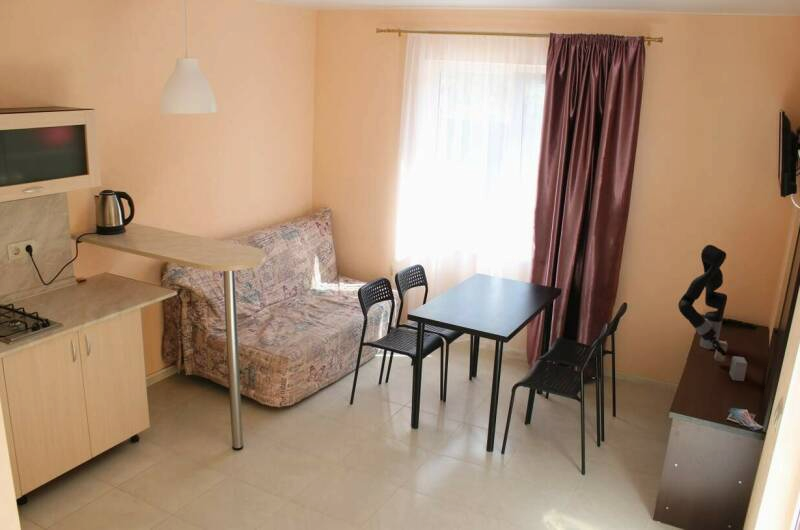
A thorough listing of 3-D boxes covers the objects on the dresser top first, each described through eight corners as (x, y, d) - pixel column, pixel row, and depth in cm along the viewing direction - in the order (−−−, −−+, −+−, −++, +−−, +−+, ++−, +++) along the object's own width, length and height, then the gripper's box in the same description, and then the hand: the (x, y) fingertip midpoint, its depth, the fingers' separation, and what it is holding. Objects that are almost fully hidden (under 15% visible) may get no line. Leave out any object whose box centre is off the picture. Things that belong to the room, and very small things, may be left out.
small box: (743, 381, 373) (747, 363, 370) (732, 380, 374) (736, 362, 371) (740, 375, 381) (743, 357, 378) (729, 373, 382) (732, 355, 379)
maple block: (714, 357, 393) (717, 340, 390) (723, 358, 392) (726, 341, 389) (715, 360, 389) (718, 343, 386) (724, 361, 388) (727, 345, 385)
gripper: (712, 331, 380) (732, 355, 381) (709, 320, 393) (728, 344, 394) (700, 338, 383) (720, 362, 384) (697, 328, 396) (716, 351, 397)
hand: (724, 353), depth 389 cm, fingers closed on maple block, 4 cm apart
